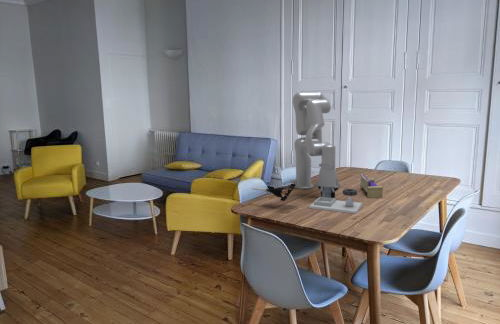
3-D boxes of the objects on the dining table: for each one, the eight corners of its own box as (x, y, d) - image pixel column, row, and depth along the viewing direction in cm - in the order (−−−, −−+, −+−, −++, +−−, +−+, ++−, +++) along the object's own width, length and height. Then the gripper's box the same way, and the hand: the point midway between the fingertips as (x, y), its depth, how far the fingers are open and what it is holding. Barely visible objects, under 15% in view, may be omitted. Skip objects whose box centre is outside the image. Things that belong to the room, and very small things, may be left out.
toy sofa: (383, 198, 217) (383, 180, 215) (367, 198, 218) (367, 180, 216) (374, 189, 238) (374, 172, 236) (359, 189, 238) (360, 173, 237)
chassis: (309, 208, 201) (309, 197, 200) (318, 200, 215) (318, 190, 214) (356, 213, 190) (356, 202, 189) (362, 205, 204) (362, 194, 203)
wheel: (341, 195, 197) (341, 191, 196) (344, 191, 203) (344, 188, 202) (355, 196, 194) (355, 192, 193) (357, 193, 199) (358, 189, 199)
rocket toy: (284, 190, 194) (244, 185, 205) (284, 202, 195) (244, 197, 206) (295, 184, 206) (257, 180, 217) (295, 195, 207) (257, 190, 218)
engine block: (322, 199, 216) (322, 188, 215) (325, 197, 221) (325, 185, 220) (330, 200, 214) (331, 188, 213) (333, 198, 219) (333, 186, 218)
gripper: (311, 166, 215) (311, 198, 218) (341, 168, 207) (341, 201, 210) (315, 164, 221) (315, 195, 224) (345, 166, 214) (344, 198, 217)
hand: (327, 197), depth 217 cm, fingers closed on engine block, 5 cm apart
